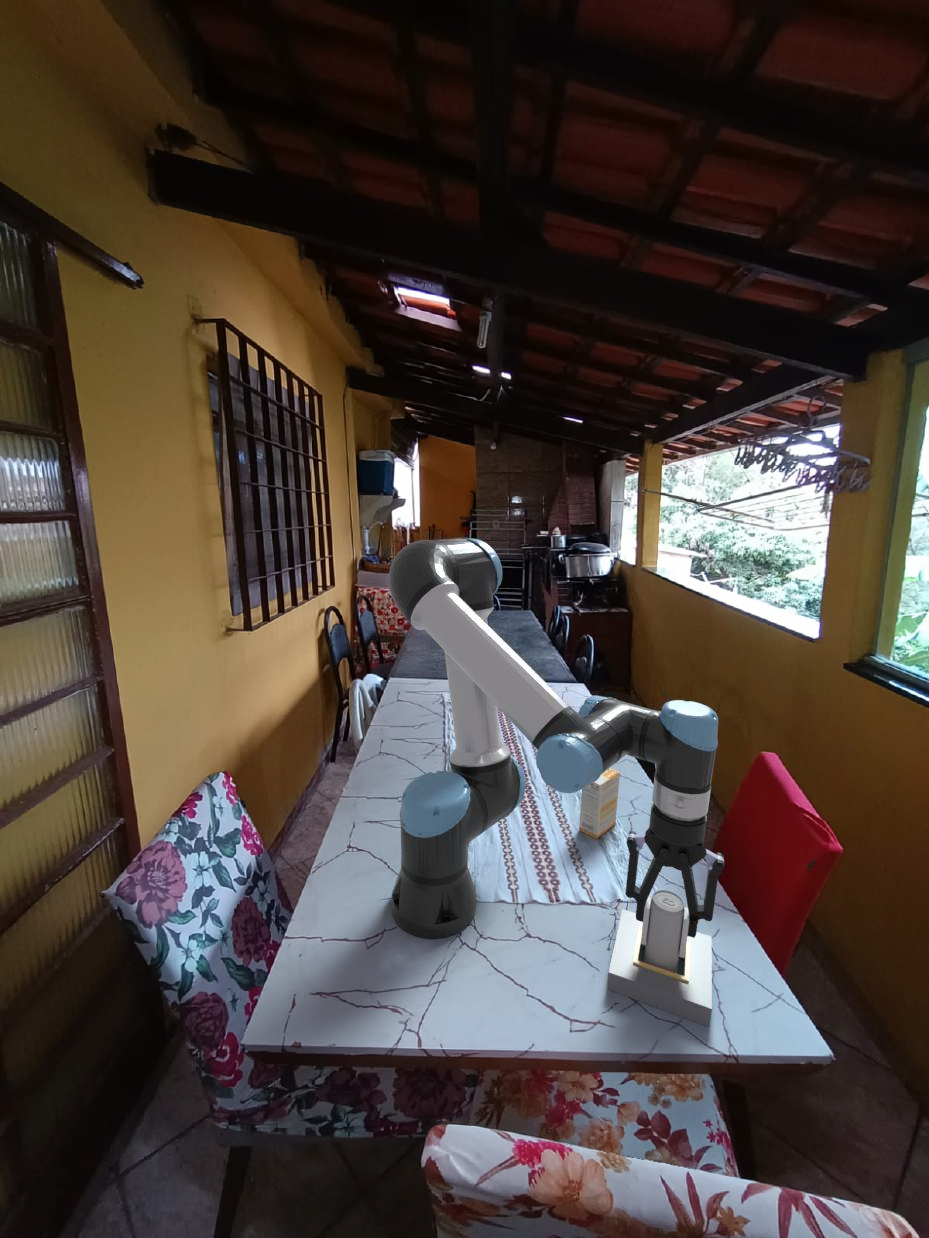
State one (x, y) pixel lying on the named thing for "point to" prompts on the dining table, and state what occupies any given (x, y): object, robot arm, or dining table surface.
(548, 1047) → the dining table surface
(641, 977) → the socket plate
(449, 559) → the robot arm
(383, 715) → the dining table surface
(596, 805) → the supplement box
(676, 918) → the beverage can
